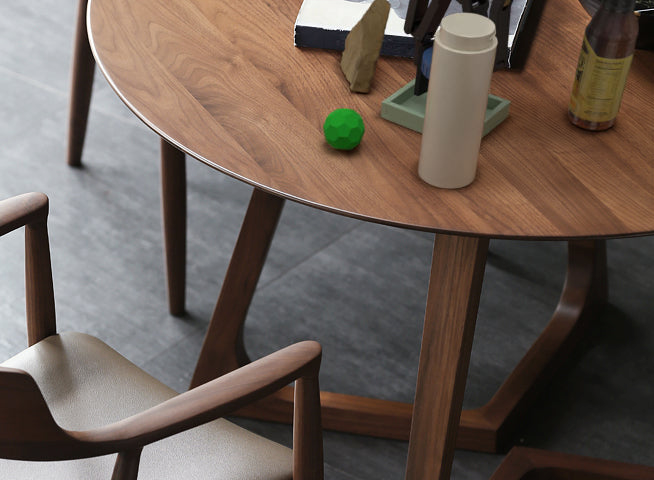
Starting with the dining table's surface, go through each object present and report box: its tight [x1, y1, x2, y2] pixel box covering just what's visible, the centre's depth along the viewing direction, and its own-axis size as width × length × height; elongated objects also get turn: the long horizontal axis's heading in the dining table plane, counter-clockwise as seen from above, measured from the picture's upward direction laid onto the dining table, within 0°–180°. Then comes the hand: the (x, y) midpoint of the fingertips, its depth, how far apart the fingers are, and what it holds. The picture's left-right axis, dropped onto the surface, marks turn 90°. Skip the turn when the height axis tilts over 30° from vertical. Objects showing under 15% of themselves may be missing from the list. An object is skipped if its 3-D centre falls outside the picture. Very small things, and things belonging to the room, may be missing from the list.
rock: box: [339, 0, 392, 94], centre depth 142 cm, size 11×9×10 cm
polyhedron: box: [322, 107, 366, 151], centre depth 130 cm, size 5×5×5 cm
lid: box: [421, 46, 433, 79], centre depth 132 cm, size 7×7×2 cm
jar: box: [417, 12, 498, 190], centre depth 121 cm, size 7×7×19 cm
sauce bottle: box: [568, 0, 640, 132], centre depth 130 cm, size 6×6×20 cm
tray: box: [379, 77, 512, 139], centre depth 136 cm, size 13×11×2 cm
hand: (445, 103), depth 136 cm, fingers closed on lid, 7 cm apart
